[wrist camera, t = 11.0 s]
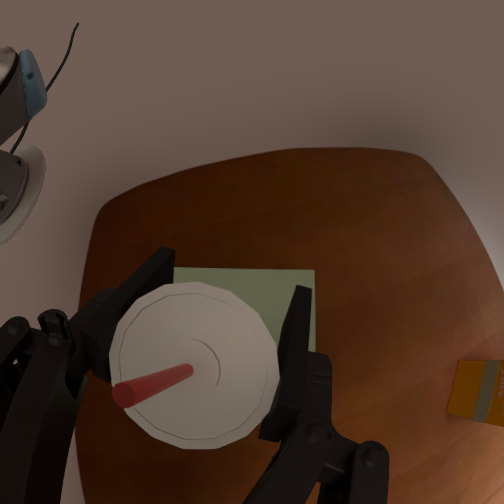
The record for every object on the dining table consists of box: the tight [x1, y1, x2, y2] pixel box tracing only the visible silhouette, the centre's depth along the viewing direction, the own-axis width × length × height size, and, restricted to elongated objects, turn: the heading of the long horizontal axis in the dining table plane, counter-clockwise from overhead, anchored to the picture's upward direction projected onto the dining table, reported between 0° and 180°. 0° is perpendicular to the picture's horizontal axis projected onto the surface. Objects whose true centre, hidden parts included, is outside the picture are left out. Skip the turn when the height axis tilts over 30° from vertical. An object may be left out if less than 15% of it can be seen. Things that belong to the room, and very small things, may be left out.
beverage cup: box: [109, 281, 280, 449], centre depth 11 cm, size 6×6×14 cm
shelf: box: [173, 267, 315, 423], centre depth 27 cm, size 14×16×7 cm
